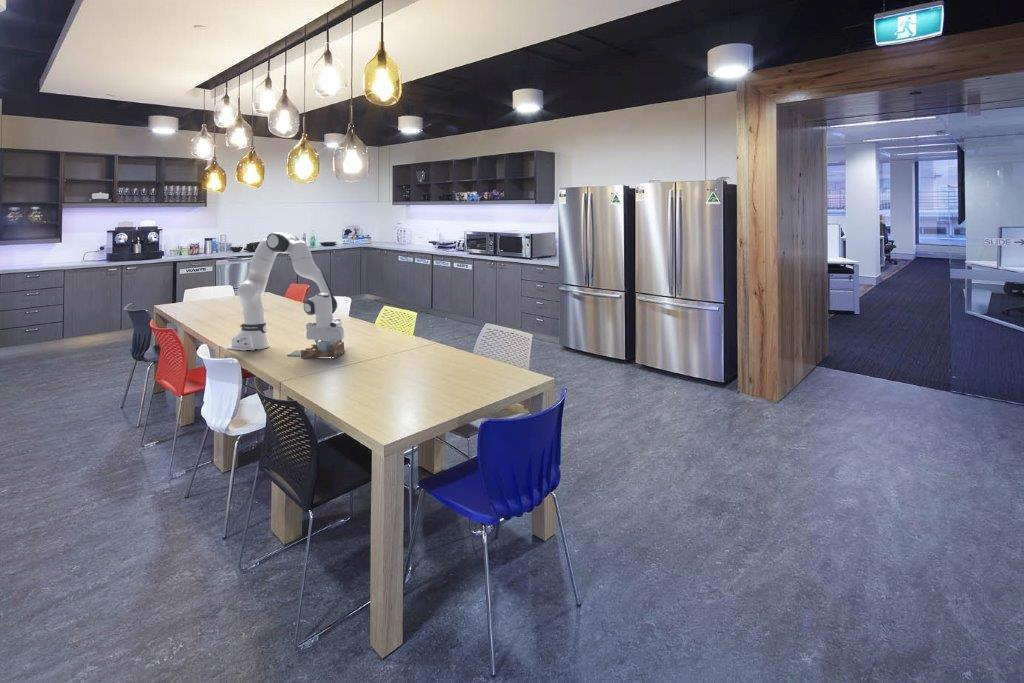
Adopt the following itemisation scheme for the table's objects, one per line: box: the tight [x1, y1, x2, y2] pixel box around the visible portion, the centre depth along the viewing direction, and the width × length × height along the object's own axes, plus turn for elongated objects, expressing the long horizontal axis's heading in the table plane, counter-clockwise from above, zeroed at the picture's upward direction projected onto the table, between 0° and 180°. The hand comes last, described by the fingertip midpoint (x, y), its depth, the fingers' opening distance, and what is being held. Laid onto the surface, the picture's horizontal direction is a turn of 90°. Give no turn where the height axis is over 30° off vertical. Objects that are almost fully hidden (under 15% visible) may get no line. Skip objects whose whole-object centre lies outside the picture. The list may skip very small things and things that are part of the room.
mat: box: [287, 349, 301, 357], centre depth 322 cm, size 7×11×1 cm, turn 176°
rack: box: [300, 341, 345, 359], centre depth 320 cm, size 18×15×6 cm
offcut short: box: [304, 345, 313, 350], centre depth 321 cm, size 3×6×2 cm, turn 8°
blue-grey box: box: [318, 340, 333, 351], centre depth 320 cm, size 4×10×8 cm, turn 176°
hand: (326, 347), depth 320 cm, fingers open, 6 cm apart
